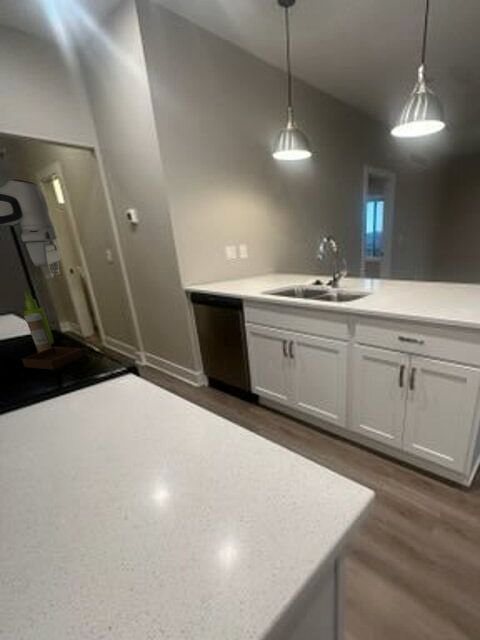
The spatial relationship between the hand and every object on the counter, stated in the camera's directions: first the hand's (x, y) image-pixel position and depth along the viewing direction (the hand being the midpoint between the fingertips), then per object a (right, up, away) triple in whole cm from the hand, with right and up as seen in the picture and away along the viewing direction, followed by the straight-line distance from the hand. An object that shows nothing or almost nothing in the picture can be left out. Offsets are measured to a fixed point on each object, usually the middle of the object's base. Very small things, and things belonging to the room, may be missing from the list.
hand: (53, 276), depth 120 cm
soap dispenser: (-10, -23, +10) cm, 27 cm away
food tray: (+7, -30, -8) cm, 32 cm away
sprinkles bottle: (-4, -26, +1) cm, 27 cm away
